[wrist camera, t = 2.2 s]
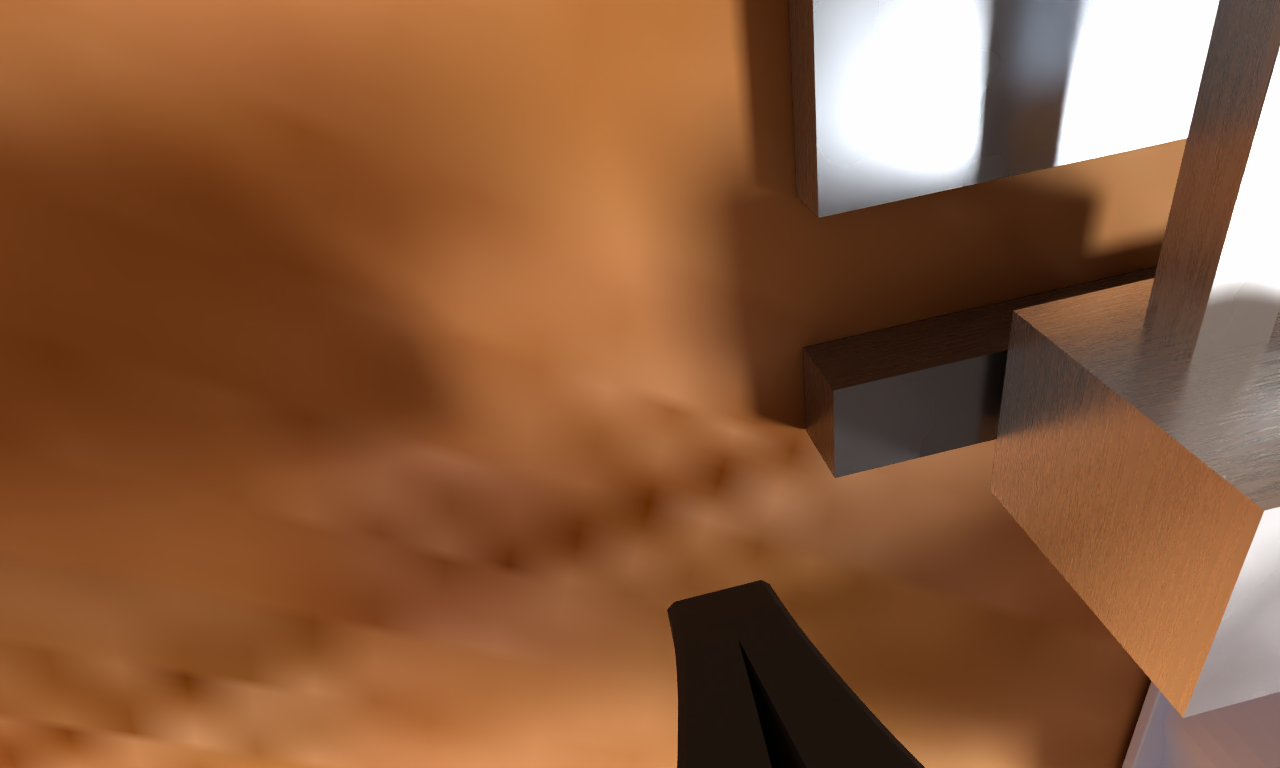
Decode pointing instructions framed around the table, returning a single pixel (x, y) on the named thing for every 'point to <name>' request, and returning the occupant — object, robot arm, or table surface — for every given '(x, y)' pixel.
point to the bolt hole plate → (982, 89)
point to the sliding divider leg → (1172, 406)
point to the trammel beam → (917, 383)
